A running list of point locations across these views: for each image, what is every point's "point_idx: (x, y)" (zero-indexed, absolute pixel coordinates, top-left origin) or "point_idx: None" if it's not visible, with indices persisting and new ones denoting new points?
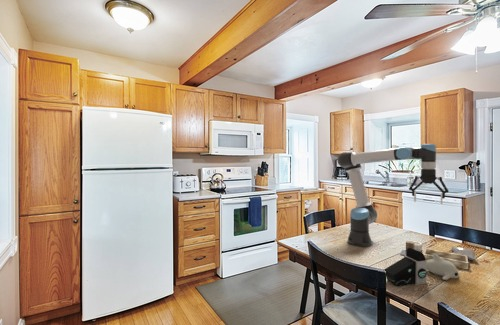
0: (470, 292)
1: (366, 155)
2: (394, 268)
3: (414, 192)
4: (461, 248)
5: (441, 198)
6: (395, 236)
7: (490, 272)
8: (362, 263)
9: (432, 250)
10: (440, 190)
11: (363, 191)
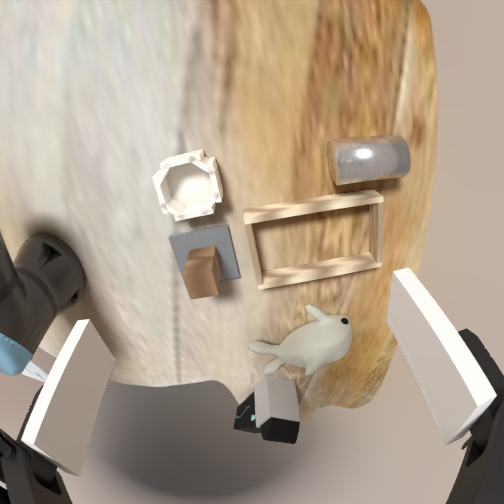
0: (362, 362)
1: None
2: (250, 430)
3: (73, 461)
4: (373, 167)
5: (423, 376)
6: (72, 71)
7: (418, 232)
8: (163, 383)
9: (272, 218)
10: (456, 487)
11: None
